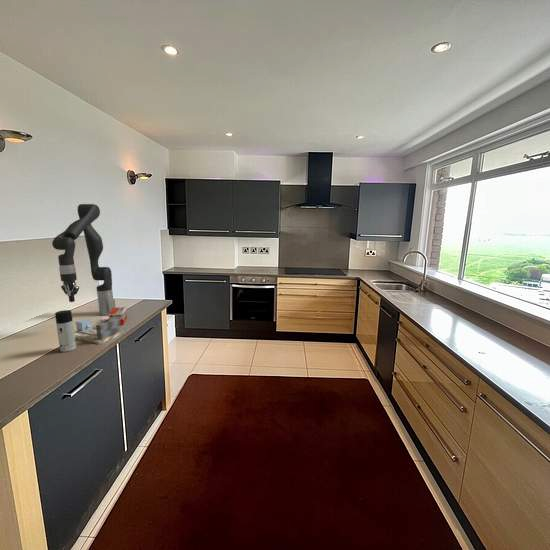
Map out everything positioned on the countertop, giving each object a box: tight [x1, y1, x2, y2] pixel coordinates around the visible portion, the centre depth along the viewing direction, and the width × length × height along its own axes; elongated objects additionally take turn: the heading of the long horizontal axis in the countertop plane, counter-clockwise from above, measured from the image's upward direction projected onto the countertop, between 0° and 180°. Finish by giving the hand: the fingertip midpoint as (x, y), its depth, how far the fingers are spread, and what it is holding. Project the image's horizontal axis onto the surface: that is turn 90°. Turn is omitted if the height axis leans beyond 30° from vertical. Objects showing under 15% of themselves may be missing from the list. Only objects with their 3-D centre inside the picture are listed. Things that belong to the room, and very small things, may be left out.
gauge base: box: [74, 318, 125, 345], centre depth 165 cm, size 16×26×10 cm, turn 68°
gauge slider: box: [74, 318, 93, 332], centre depth 166 cm, size 10×6×6 cm, turn 158°
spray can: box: [54, 309, 77, 353], centre depth 146 cm, size 7×7×20 cm
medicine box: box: [108, 306, 128, 326], centre depth 186 cm, size 15×8×8 cm, turn 19°
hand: (72, 301), depth 168 cm, fingers closed
